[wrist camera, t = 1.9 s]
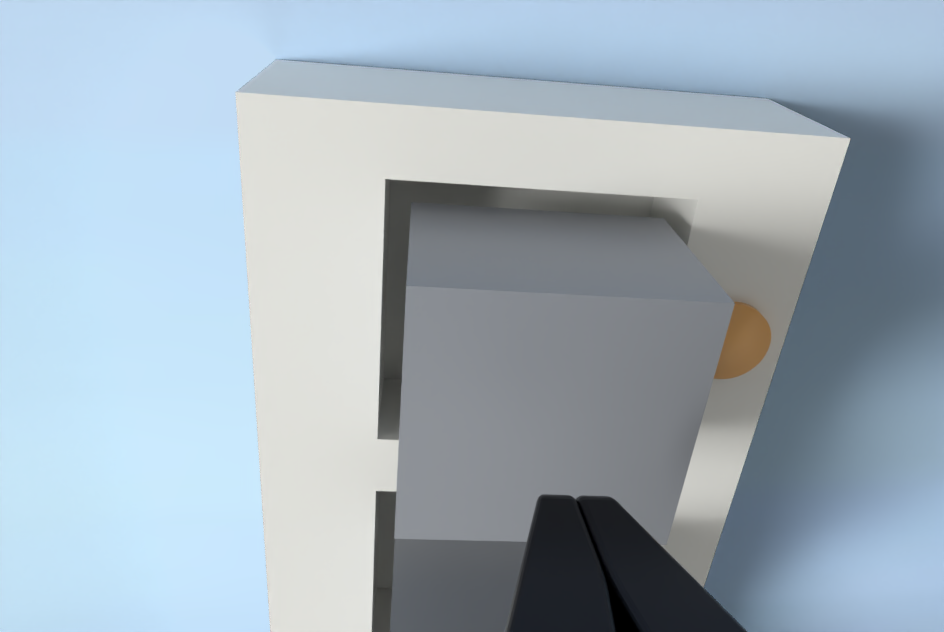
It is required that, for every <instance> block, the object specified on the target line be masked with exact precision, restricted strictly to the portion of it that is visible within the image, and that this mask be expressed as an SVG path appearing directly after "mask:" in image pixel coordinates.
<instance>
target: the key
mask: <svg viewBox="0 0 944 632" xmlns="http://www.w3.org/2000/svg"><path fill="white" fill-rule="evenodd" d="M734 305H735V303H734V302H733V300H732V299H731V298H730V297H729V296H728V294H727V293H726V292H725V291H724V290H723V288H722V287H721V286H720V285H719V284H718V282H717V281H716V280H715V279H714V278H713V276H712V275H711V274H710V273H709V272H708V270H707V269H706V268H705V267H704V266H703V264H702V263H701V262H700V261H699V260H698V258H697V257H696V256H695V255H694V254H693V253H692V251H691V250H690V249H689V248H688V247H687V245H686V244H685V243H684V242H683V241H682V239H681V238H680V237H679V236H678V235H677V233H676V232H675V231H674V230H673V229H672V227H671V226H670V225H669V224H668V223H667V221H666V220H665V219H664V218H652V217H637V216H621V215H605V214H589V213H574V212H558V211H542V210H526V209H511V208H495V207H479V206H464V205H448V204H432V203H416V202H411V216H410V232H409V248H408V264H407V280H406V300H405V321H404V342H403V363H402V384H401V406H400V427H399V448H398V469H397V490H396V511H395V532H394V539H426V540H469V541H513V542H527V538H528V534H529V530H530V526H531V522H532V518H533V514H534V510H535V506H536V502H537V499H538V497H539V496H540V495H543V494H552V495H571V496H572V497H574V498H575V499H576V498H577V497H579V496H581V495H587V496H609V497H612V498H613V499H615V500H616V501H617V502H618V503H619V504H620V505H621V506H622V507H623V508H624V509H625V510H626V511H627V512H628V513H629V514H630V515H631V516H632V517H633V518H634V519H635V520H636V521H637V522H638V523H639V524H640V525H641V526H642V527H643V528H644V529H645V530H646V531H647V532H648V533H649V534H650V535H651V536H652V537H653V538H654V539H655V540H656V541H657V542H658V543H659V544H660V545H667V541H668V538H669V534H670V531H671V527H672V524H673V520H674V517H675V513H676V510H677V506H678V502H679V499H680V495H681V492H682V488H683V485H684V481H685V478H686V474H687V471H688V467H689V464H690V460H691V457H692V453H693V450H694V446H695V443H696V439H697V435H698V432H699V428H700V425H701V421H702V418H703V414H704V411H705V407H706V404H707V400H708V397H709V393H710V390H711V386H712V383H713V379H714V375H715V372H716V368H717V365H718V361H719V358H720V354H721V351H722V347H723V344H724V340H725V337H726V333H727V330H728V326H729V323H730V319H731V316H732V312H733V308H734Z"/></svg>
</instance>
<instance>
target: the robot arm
mask: <svg viewBox="0 0 944 632" xmlns="http://www.w3.org/2000/svg"><path fill="white" fill-rule="evenodd" d="M504 632H747V631H746V630H745V629H744V628H743V627H742V626H741V625H740V624H739V623H738V622H737V621H736V620H735V619H734V618H733V617H732V616H731V615H730V614H729V613H728V612H727V611H726V610H725V609H724V608H723V607H722V606H721V605H720V604H719V603H718V602H717V601H716V600H715V599H714V598H713V597H712V596H711V595H710V594H709V593H708V592H707V591H706V590H705V589H704V588H703V587H702V586H701V585H700V584H699V583H698V582H697V581H696V580H695V579H694V578H693V577H692V576H691V575H690V574H689V573H688V572H687V571H686V570H685V569H684V568H683V567H682V566H681V565H680V564H679V563H678V562H677V561H676V560H675V559H674V558H673V557H672V556H671V555H670V554H669V553H668V552H667V551H666V550H665V549H664V548H663V547H662V546H661V545H660V544H659V543H658V542H657V541H656V540H655V539H654V538H653V537H652V536H651V535H650V534H649V533H648V532H647V531H646V530H645V529H644V528H643V527H642V526H641V525H640V524H639V523H638V522H637V521H636V520H635V519H634V518H633V517H632V516H631V515H630V514H629V513H628V512H627V511H626V510H625V509H624V508H623V507H622V506H621V505H620V504H619V503H618V502H617V501H616V500H615V499H613V498H612V497H609V496H587V495H581V496H579V497H577V498H576V499H575V498H574V497H572V496H571V495H552V494H543V495H540V496H539V497H538V499H537V502H536V506H535V510H534V514H533V518H532V522H531V526H530V530H529V534H528V538H527V542H526V546H525V550H524V554H523V559H522V563H521V567H520V571H519V575H518V579H517V583H516V587H515V591H514V595H513V599H512V603H511V607H510V611H509V615H508V619H507V623H506V627H505V631H504Z"/></svg>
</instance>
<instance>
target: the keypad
mask: <svg viewBox="0 0 944 632" xmlns="http://www.w3.org/2000/svg"><path fill="white" fill-rule="evenodd" d="M236 107H237V122H238V138H239V153H240V169H241V184H242V200H243V215H244V231H245V246H246V262H247V277H248V293H249V308H250V324H251V339H252V355H253V370H254V386H255V401H256V417H257V432H258V448H259V463H260V479H261V494H262V510H263V525H264V541H265V556H266V572H267V587H268V603H269V618H270V632H390V619H391V601H392V582H393V564H394V546H395V539H394V532H395V511H396V490H397V469H398V448H399V427H400V406H401V384H402V363H403V342H404V321H405V300H406V280H407V264H408V248H409V232H410V216H411V202H416V203H432V204H448V205H464V206H479V207H495V208H511V209H526V210H542V211H558V212H574V213H589V214H605V215H621V216H637V217H652V218H664V219H665V220H666V221H667V223H668V224H669V225H670V226H671V227H672V229H673V230H674V231H675V232H676V233H677V235H678V236H679V237H680V238H681V239H682V241H683V242H684V243H685V244H686V245H687V247H688V248H689V249H690V250H691V251H692V253H693V254H694V255H695V256H696V257H697V258H698V260H699V261H700V262H701V263H702V264H703V266H704V267H705V268H706V269H707V270H708V272H709V273H710V274H711V275H712V276H713V278H714V279H715V280H716V281H717V282H718V284H719V285H720V286H721V287H722V288H723V290H724V291H725V292H726V293H727V294H728V296H729V297H730V298H731V299H732V300H733V302H734V303H735V305H734V308H733V312H732V316H731V319H730V323H729V326H728V330H727V333H726V337H725V340H724V344H723V347H722V351H721V354H720V358H719V361H718V365H717V368H716V372H715V375H714V379H713V383H712V386H711V390H710V393H709V397H708V400H707V404H706V407H705V411H704V414H703V418H702V421H701V425H700V428H699V432H698V435H697V439H696V443H695V446H694V450H693V453H692V457H691V460H690V464H689V467H688V471H687V474H686V478H685V481H684V485H683V488H682V492H681V495H680V499H679V502H678V506H677V510H676V513H675V517H674V520H673V524H672V527H671V531H670V534H669V538H668V541H667V545H661V546H662V547H663V548H664V549H665V550H666V551H667V552H668V553H669V554H670V555H671V556H672V557H673V558H674V559H675V560H676V561H677V562H678V563H679V564H680V565H681V566H682V567H683V568H684V569H685V570H686V571H687V572H688V573H689V574H690V575H691V576H692V577H693V578H694V579H695V580H696V581H697V582H698V583H699V584H700V585H701V586H702V587H703V588H704V585H705V582H706V579H707V575H708V572H709V569H710V566H711V563H712V560H713V557H714V554H715V551H716V548H717V545H718V542H719V539H720V536H721V533H722V530H723V527H724V524H725V521H726V517H727V514H728V511H729V508H730V505H731V502H732V499H733V496H734V493H735V490H736V487H737V484H738V481H739V478H740V475H741V472H742V469H743V466H744V463H745V460H746V456H747V453H748V450H749V447H750V444H751V441H752V438H753V435H754V432H755V429H756V426H757V423H758V420H759V417H760V414H761V411H762V408H763V405H764V402H765V398H766V395H767V392H768V389H769V386H770V383H771V380H772V377H773V374H774V371H775V368H776V365H777V362H778V359H779V356H780V353H781V350H782V347H783V344H784V341H785V337H786V334H787V331H788V328H789V325H790V322H791V319H792V316H793V313H794V310H795V307H796V304H797V301H798V298H799V295H800V292H801V289H802V286H803V283H804V279H805V276H806V273H807V270H808V267H809V264H810V261H811V258H812V255H813V252H814V249H815V246H816V243H817V240H818V237H819V234H820V231H821V228H822V225H823V222H824V218H825V215H826V212H827V209H828V206H829V203H830V200H831V197H832V194H833V191H834V188H835V185H836V182H837V179H838V176H839V173H840V170H841V167H842V164H843V161H844V157H845V154H846V151H847V148H848V145H849V142H850V139H851V138H849V137H847V136H845V135H843V134H840V133H838V132H836V131H834V130H832V129H830V128H828V127H826V126H824V125H822V124H820V123H818V122H815V121H813V120H811V119H809V118H807V117H805V116H803V115H801V114H799V113H797V112H795V111H793V110H790V109H788V108H786V107H784V106H782V105H780V104H778V103H776V102H774V101H772V100H770V99H768V98H755V97H743V96H730V95H718V94H705V93H693V92H680V91H667V90H655V89H642V88H630V87H617V86H605V85H592V84H579V83H567V82H554V81H542V80H529V79H516V78H504V77H491V76H479V75H466V74H454V73H441V72H428V71H416V70H403V69H391V68H378V67H366V66H353V65H340V64H328V63H315V62H303V61H290V60H278V59H276V60H274V61H273V62H272V63H271V64H269V65H268V66H267V67H266V68H265V69H263V70H262V71H261V72H260V73H258V74H257V75H256V76H255V77H253V78H252V79H251V80H250V81H249V82H247V83H246V84H245V85H244V86H242V87H241V88H240V89H239V90H238V91H236Z"/></svg>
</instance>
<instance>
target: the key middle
mask: <svg viewBox="0 0 944 632" xmlns="http://www.w3.org/2000/svg"><path fill="white" fill-rule="evenodd" d="M525 546H526V542H513V541H469V540H426V539H395V546H394V564H393V582H392V601H391V619H390V632H504V631H505V627H506V623H507V619H508V615H509V611H510V607H511V603H512V599H513V595H514V591H515V587H516V583H517V579H518V575H519V571H520V567H521V563H522V559H523V554H524V550H525Z"/></svg>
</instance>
